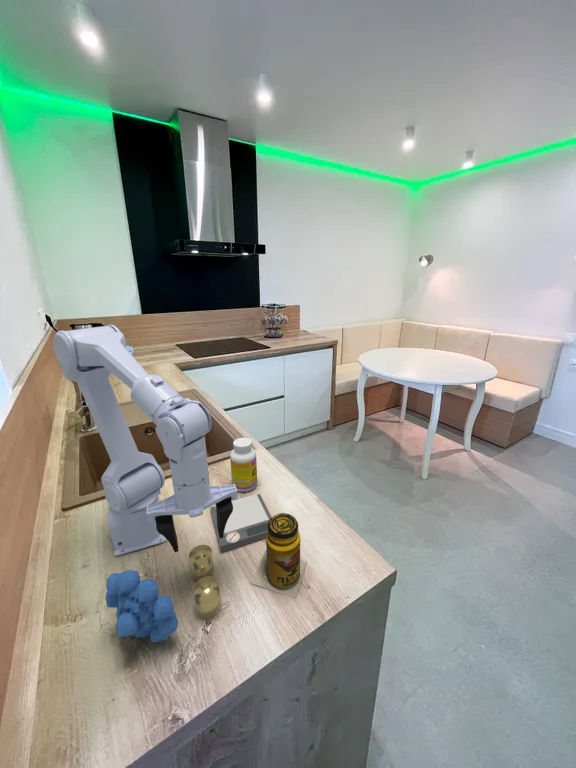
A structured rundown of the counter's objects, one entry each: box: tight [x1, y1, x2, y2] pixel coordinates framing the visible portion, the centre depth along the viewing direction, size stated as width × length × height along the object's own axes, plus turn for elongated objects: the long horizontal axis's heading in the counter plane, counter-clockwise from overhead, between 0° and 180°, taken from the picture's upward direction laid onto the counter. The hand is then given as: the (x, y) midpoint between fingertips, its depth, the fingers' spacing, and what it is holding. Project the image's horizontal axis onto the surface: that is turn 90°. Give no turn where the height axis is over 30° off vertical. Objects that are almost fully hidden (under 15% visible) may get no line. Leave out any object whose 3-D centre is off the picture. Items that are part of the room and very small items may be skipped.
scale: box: [210, 493, 273, 554], centre depth 68 cm, size 12×12×2 cm
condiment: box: [250, 512, 307, 598], centre depth 55 cm, size 7×8×12 cm
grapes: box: [105, 569, 179, 643], centre depth 45 cm, size 12×7×12 cm, turn 74°
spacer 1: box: [188, 544, 215, 583], centre depth 56 cm, size 4×4×5 cm
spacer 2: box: [192, 575, 222, 621], centre depth 50 cm, size 4×4×5 cm
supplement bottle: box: [229, 437, 258, 493], centre depth 79 cm, size 7×7×13 cm
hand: (198, 540), depth 55 cm, fingers open, 7 cm apart
